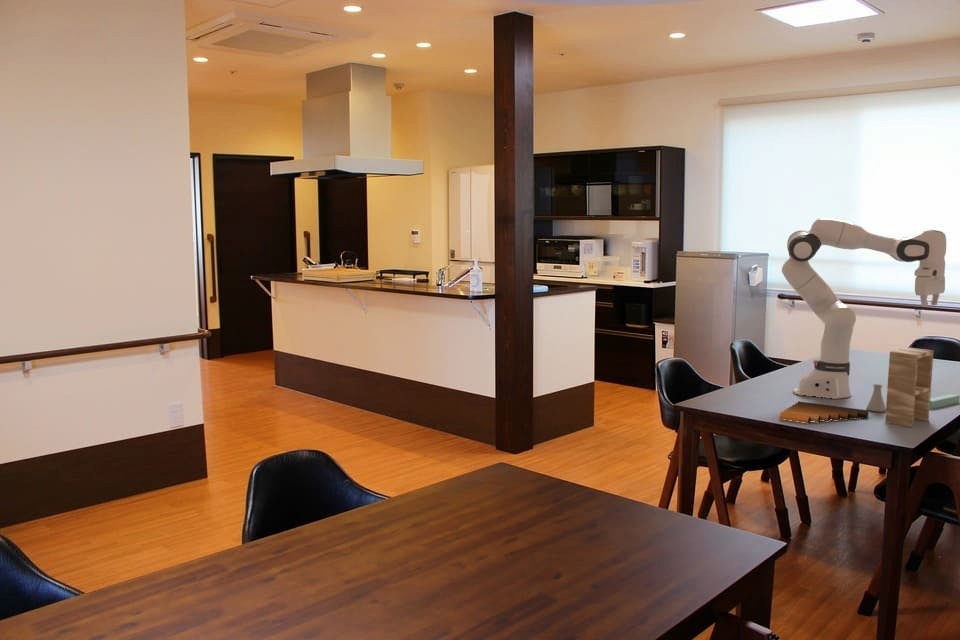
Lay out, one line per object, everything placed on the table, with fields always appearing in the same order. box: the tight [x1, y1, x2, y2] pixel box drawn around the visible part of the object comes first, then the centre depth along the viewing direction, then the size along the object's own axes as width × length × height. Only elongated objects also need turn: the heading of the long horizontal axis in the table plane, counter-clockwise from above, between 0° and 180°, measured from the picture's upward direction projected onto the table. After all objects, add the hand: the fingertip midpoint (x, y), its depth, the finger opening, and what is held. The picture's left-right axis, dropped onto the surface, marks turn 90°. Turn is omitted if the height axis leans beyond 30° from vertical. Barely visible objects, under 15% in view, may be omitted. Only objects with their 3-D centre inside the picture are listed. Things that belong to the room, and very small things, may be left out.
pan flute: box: [779, 401, 870, 424], centre depth 293 cm, size 25×3×25 cm
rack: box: [884, 347, 935, 428], centre depth 287 cm, size 15×9×26 cm, turn 130°
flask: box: [865, 383, 886, 413], centre depth 305 cm, size 7×7×10 cm
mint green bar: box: [929, 393, 960, 410], centre depth 314 cm, size 20×3×3 cm, turn 122°
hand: (929, 305), depth 314 cm, fingers open, 8 cm apart
